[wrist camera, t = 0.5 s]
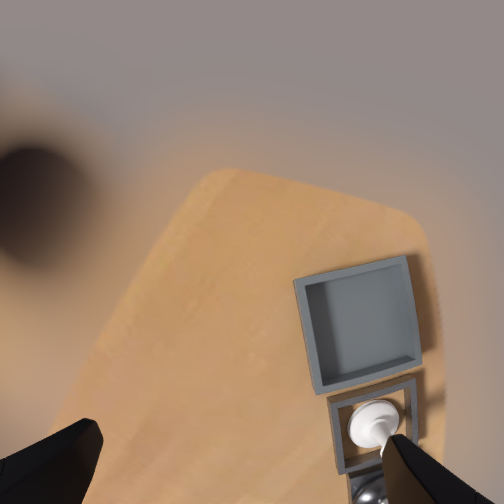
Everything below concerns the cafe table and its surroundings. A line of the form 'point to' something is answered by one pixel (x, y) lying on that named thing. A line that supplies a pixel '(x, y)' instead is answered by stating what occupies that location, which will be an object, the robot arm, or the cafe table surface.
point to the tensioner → (370, 465)
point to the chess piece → (373, 424)
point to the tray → (358, 324)
